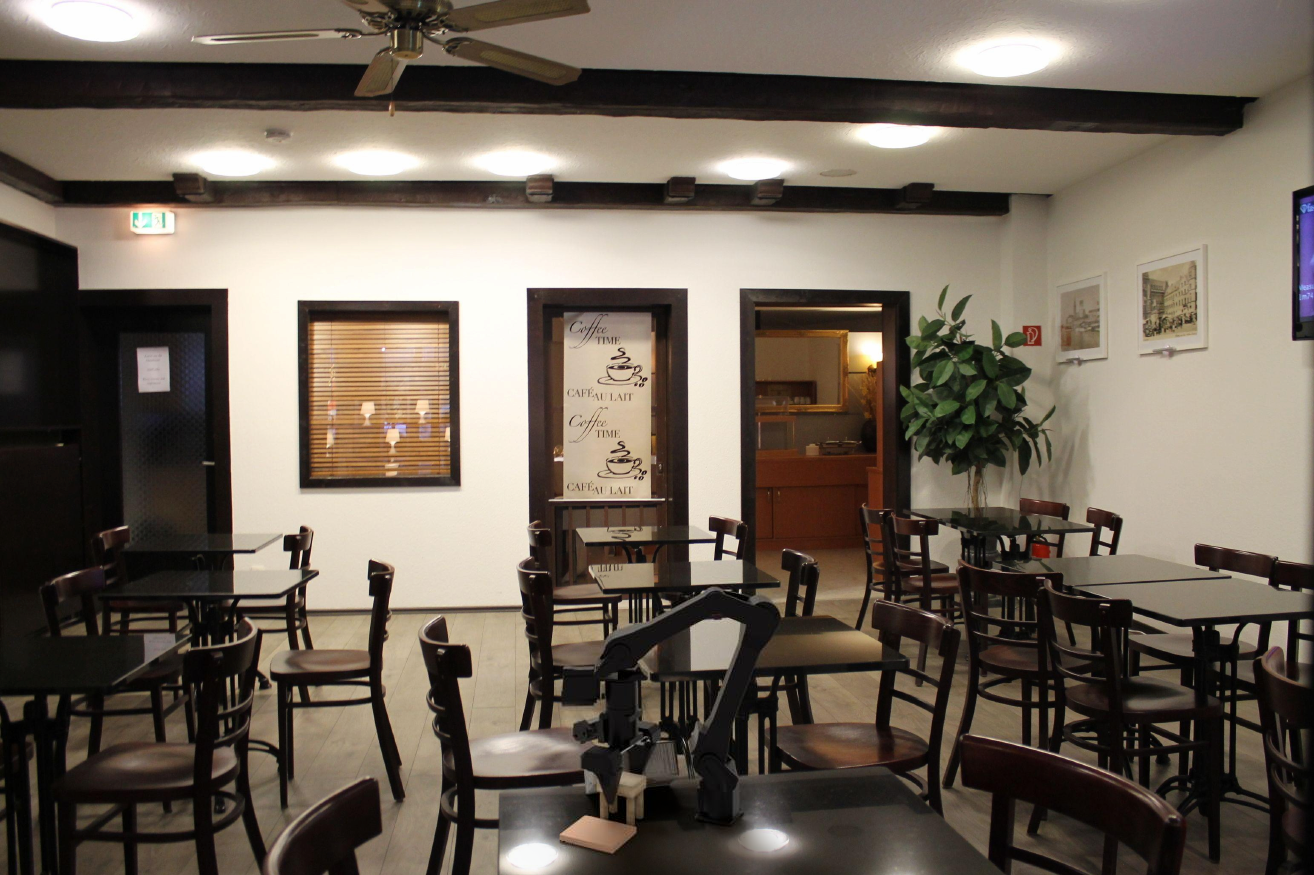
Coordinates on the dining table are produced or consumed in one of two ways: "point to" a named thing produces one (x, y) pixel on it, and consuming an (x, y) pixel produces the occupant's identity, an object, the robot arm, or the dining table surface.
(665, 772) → the coffee box
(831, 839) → the dining table surface
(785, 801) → the dining table surface
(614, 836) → the terracotta tile
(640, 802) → the oak stool
